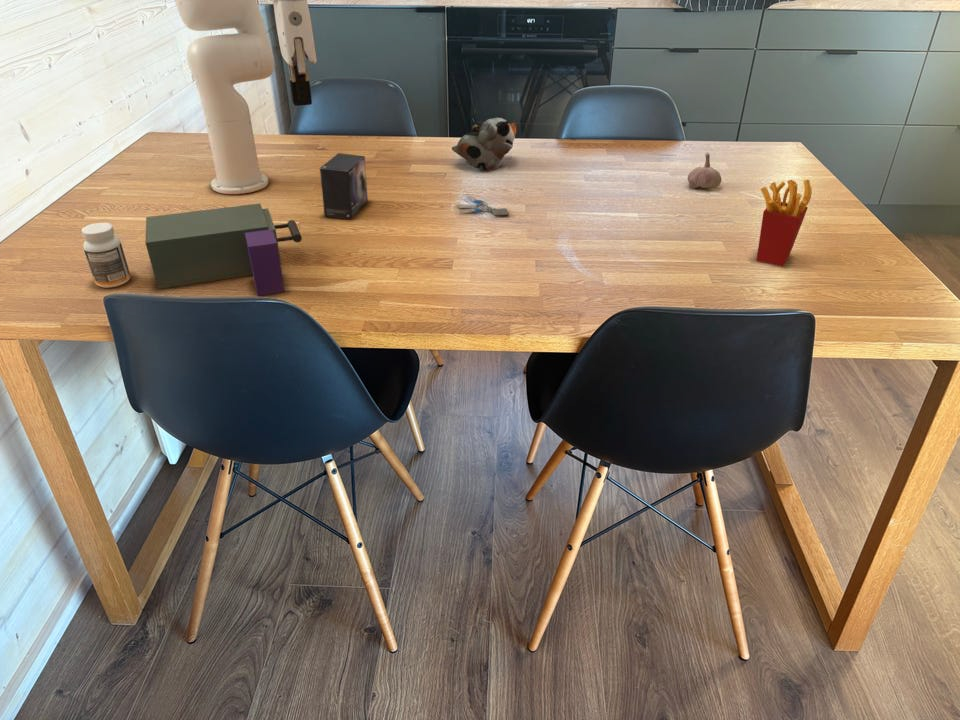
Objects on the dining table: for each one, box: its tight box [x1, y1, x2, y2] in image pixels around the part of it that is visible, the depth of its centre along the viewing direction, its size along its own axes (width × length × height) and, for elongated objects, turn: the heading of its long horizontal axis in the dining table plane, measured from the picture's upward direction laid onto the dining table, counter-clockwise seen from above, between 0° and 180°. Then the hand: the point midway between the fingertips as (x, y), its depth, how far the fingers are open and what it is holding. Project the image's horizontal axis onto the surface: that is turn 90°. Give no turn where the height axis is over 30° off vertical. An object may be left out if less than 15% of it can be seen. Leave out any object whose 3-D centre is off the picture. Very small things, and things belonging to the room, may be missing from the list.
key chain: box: [458, 194, 510, 216], centre depth 149 cm, size 14×8×1 cm, turn 47°
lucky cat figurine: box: [451, 117, 517, 172], centre depth 172 cm, size 15×12×14 cm
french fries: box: [756, 179, 812, 268], centre depth 128 cm, size 9×8×15 cm
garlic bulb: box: [687, 151, 723, 189], centre depth 161 cm, size 8×7×8 cm
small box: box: [319, 152, 369, 220], centre depth 147 cm, size 11×6×10 cm, turn 168°
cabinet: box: [144, 203, 269, 290], centre depth 124 cm, size 20×12×9 cm, turn 111°
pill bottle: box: [81, 222, 131, 288], centre depth 118 cm, size 6×6×10 cm
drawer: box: [262, 207, 303, 265], centre depth 125 cm, size 23×10×7 cm, turn 111°
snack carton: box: [245, 229, 286, 297], centre depth 118 cm, size 6×4×9 cm
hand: (302, 103), depth 125 cm, fingers closed
